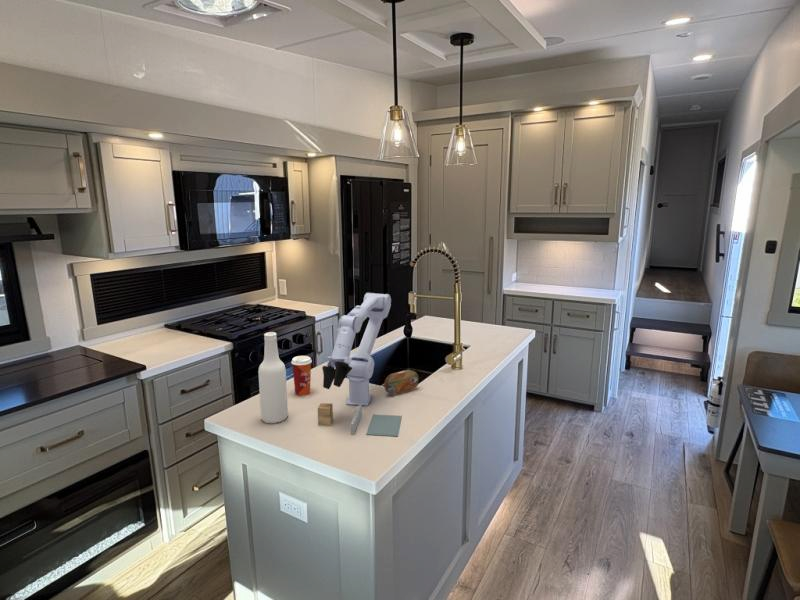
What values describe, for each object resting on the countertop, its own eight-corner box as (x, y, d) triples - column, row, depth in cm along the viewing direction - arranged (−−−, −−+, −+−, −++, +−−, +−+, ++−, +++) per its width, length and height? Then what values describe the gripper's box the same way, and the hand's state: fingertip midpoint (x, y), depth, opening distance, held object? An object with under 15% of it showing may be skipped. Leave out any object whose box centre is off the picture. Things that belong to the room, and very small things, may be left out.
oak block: (321, 419, 153) (320, 402, 152) (332, 420, 153) (332, 403, 152) (318, 424, 150) (317, 408, 148) (329, 425, 149) (329, 408, 148)
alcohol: (257, 416, 155) (252, 332, 149) (282, 410, 160) (278, 328, 154) (266, 426, 148) (261, 338, 142) (292, 419, 153) (288, 334, 147)
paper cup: (306, 398, 170) (305, 362, 167) (288, 395, 173) (287, 360, 170) (316, 390, 177) (315, 356, 175) (299, 387, 180) (298, 354, 177)
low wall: (358, 414, 157) (358, 405, 156) (361, 414, 157) (361, 405, 156) (350, 434, 144) (350, 423, 143) (353, 434, 143) (353, 424, 143)
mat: (372, 415, 157) (372, 414, 157) (401, 416, 156) (401, 415, 156) (366, 434, 143) (366, 434, 143) (397, 436, 142) (397, 435, 142)
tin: (387, 398, 171) (387, 377, 169) (382, 395, 174) (382, 374, 172) (419, 389, 179) (419, 369, 178) (414, 386, 182) (414, 367, 180)
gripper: (323, 347, 156) (311, 385, 150) (342, 340, 144) (330, 380, 138) (340, 354, 159) (329, 391, 153) (361, 348, 147) (350, 388, 141)
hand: (331, 387), depth 146 cm, fingers open, 7 cm apart
